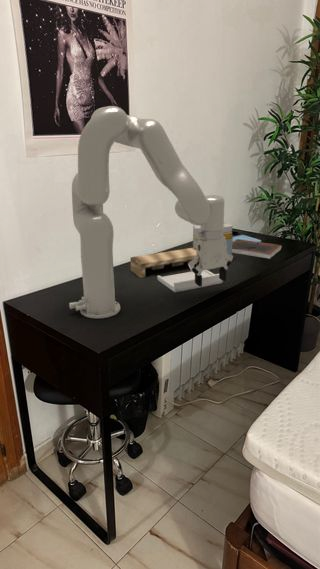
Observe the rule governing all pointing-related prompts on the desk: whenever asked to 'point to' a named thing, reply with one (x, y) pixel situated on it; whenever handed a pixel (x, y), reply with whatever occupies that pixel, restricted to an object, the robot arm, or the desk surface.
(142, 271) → the oak overhang
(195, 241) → the ink box
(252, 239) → the waterproof phone case
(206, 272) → the white flat rectangular tray
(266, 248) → the book
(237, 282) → the desk surface
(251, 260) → the desk surface
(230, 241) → the bottle
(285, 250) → the desk surface
